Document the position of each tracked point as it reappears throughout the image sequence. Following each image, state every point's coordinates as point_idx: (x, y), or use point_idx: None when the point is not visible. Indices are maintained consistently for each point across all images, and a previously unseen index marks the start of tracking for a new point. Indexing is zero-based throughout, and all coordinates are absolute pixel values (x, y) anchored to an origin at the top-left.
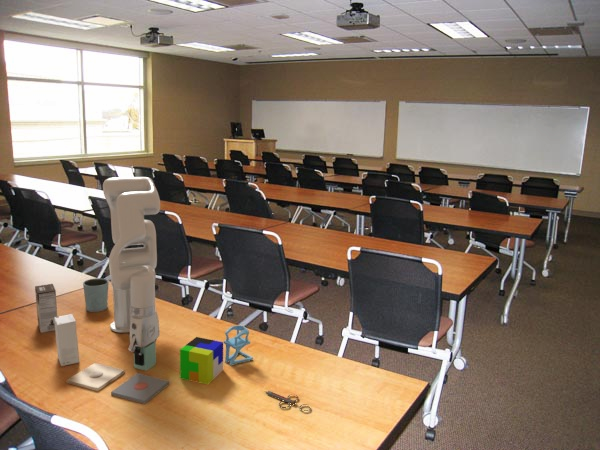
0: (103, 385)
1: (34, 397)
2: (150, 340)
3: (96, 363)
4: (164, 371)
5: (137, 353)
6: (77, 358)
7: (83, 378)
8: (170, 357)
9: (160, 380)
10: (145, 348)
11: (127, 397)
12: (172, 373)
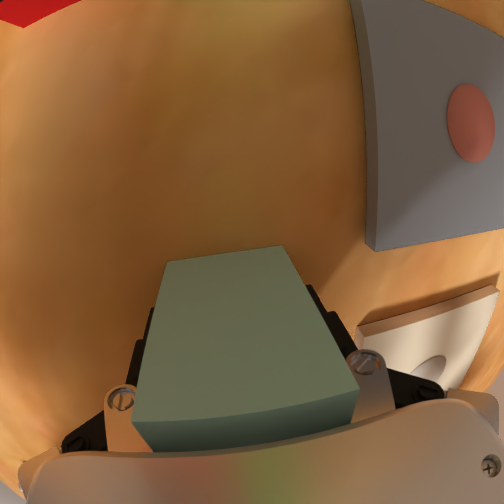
0: (478, 295)
1: (498, 370)
2: (287, 484)
3: None
4: (221, 118)
5: (399, 374)
6: None
7: (446, 379)
8: (46, 246)
9: (385, 37)
10: (358, 389)
11: None
12: (214, 44)
